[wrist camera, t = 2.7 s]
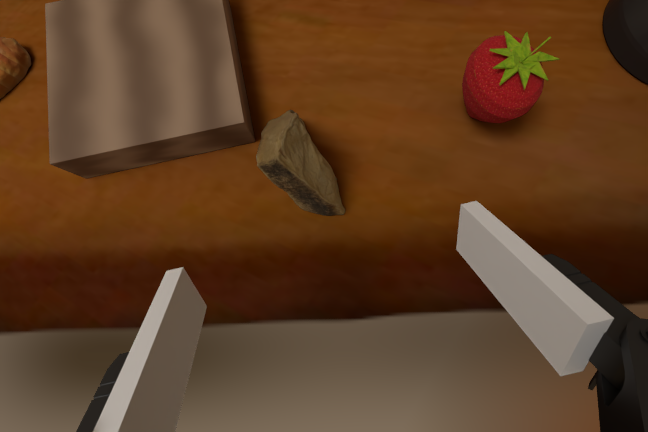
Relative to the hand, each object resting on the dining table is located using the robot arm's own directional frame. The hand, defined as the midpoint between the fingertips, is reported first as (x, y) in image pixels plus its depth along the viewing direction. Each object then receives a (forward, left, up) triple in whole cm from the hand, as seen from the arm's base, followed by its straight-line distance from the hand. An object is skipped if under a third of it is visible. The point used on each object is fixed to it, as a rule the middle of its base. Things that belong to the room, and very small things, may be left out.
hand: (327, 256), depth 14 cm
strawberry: (-18, -12, -14) cm, 26 cm away
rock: (0, -10, -15) cm, 18 cm away
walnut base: (+14, -23, -14) cm, 31 cm away
